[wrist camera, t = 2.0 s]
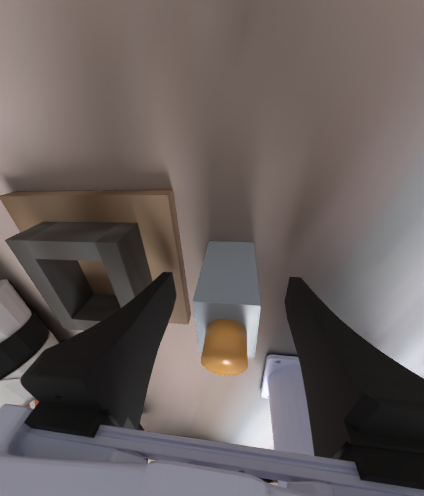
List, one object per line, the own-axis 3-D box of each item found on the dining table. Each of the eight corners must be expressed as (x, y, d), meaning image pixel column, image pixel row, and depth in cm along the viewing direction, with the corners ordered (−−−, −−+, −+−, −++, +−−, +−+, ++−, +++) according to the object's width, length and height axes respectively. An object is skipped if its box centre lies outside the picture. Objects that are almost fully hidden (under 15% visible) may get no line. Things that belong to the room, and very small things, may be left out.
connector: (253, 242, 13) (264, 337, 7) (250, 287, 15) (256, 389, 9) (209, 241, 14) (184, 330, 8) (211, 285, 16) (193, 382, 10)
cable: (23, 209, 20) (-81, 236, 10) (148, 410, 33) (150, 499, 24) (-106, 243, 17) (-378, 313, 8) (83, 443, 31) (57, 554, 22)
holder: (172, 190, 12) (150, 211, 9) (190, 314, 18) (180, 352, 15) (13, 191, 13) (-51, 210, 10) (78, 306, 19) (48, 340, 16)
